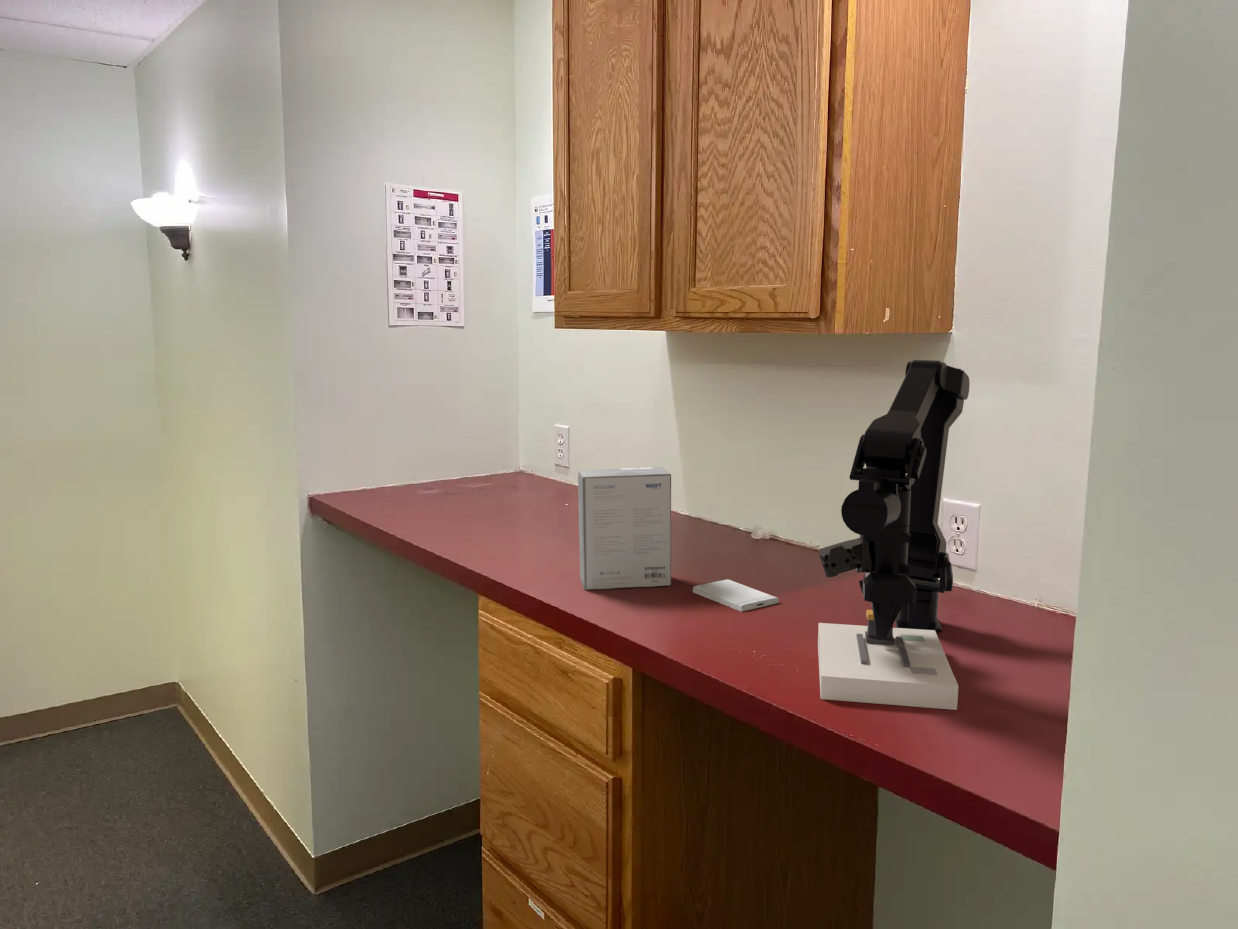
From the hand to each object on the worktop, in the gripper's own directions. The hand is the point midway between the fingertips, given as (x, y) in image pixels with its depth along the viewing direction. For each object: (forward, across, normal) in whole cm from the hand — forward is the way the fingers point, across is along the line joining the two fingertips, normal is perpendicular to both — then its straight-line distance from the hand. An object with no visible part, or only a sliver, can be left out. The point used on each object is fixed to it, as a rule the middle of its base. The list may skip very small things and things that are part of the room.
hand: (881, 638), depth 123 cm
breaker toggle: (+1, -3, 0) cm, 3 cm away
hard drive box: (+3, -32, -41) cm, 52 cm away
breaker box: (+4, +2, 0) cm, 5 cm away
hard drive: (+4, -28, -21) cm, 35 cm away
